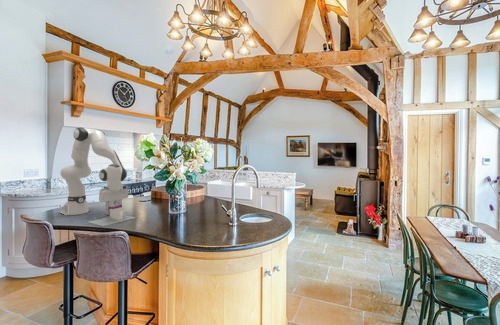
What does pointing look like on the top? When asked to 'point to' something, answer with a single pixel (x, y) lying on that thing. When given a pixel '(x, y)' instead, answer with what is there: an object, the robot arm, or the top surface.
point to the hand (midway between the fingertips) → (114, 206)
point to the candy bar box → (109, 206)
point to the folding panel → (117, 214)
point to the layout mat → (109, 221)
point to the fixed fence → (118, 210)
